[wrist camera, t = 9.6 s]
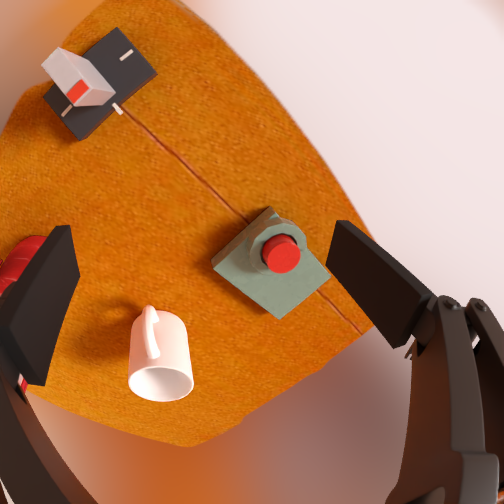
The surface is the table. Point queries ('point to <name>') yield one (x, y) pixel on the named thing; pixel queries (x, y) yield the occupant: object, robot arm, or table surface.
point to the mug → (159, 357)
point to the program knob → (77, 78)
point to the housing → (258, 273)
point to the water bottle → (19, 269)
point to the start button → (281, 254)
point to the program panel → (115, 73)
